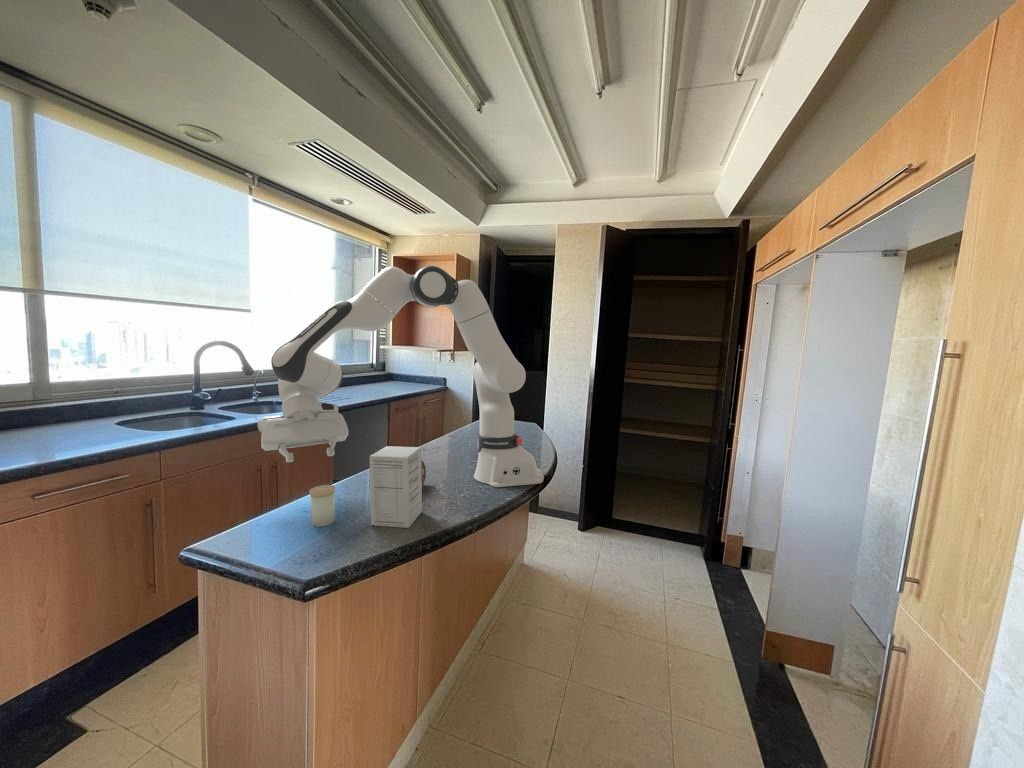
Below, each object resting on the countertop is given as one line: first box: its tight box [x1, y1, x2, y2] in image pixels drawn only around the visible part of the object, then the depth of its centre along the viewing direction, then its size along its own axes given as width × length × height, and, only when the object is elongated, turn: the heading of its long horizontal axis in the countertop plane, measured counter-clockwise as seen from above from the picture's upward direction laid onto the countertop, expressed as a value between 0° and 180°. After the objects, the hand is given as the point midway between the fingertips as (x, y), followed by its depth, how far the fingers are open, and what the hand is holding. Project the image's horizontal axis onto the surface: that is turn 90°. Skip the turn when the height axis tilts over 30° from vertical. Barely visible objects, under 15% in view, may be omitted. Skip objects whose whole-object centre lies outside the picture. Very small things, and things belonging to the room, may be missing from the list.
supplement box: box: [369, 445, 423, 529], centre depth 91 cm, size 10×9×17 cm
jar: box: [309, 484, 336, 527], centre depth 89 cm, size 5×5×8 cm
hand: (311, 457), depth 97 cm, fingers open, 8 cm apart
